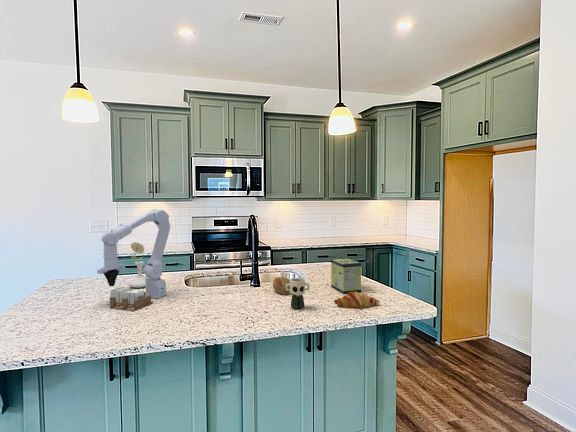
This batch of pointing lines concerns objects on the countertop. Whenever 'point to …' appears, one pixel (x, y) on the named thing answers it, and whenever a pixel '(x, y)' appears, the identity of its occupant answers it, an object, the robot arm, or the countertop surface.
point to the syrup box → (127, 294)
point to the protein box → (345, 275)
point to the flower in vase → (138, 267)
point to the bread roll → (281, 285)
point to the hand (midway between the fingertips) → (111, 285)
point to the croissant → (356, 300)
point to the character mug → (297, 291)
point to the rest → (137, 304)
